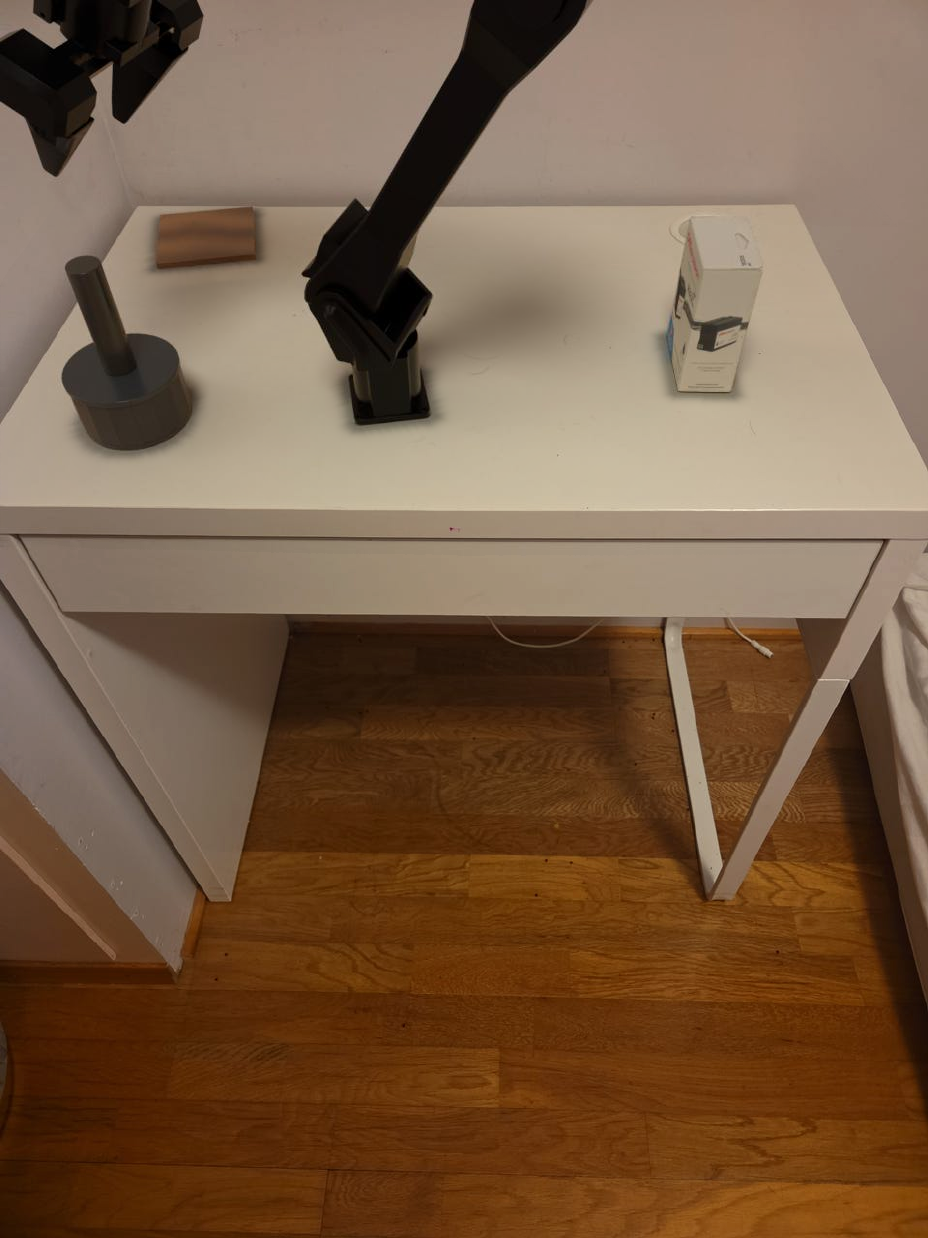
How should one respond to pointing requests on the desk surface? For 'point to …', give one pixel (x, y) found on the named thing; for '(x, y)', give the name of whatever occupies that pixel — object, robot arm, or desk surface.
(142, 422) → the bowl
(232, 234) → the plate
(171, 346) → the lid
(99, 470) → the desk surface
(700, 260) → the ink box
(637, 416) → the desk surface
